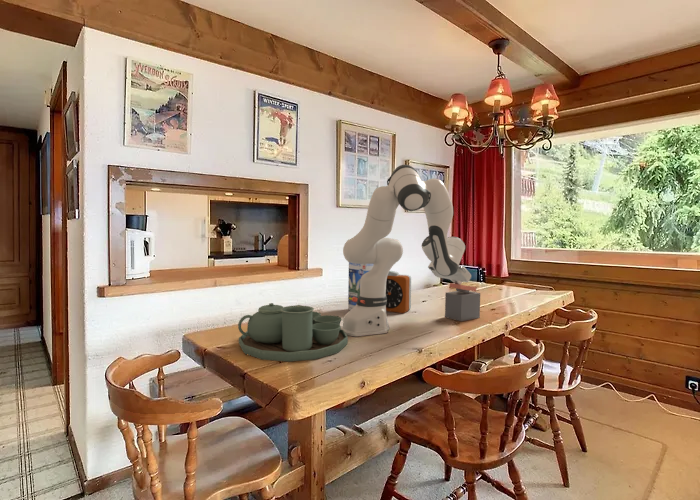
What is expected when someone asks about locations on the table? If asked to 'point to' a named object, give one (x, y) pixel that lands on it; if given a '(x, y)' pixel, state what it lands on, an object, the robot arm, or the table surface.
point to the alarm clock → (398, 292)
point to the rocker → (463, 288)
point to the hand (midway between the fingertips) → (458, 283)
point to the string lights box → (356, 281)
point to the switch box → (462, 305)
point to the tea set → (291, 334)
